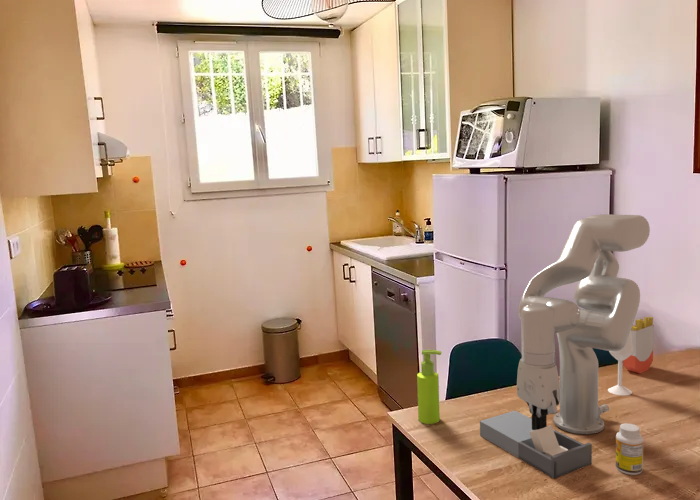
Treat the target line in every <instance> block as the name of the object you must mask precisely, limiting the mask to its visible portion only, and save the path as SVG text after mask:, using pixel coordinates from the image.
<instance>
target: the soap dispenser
mask: <svg viewBox="0 0 700 500" xmlns="http://www.w3.org/2000/svg"><path fill="white" fill-rule="evenodd" d="M442 353H443V352H442V351H441V350H437V349H422V350H421V355H423V361H421V365H420V368H421V371H420V372H418V373H417V374H416V380H417V385H416V386H417V412H418V413H417V414H418V421H419V422H420V423H421V424H424V425H426V424H427V425H434V424H437V423H439V421H440V420H441V419H440V418H441V417H440V415H441V414H440V413H441V412H440V388H439V387H440V386H439V382H440V381H439V373H438V372H435V370H434V361H433V360H431V355H438V356H440V355H442Z"/></svg>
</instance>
